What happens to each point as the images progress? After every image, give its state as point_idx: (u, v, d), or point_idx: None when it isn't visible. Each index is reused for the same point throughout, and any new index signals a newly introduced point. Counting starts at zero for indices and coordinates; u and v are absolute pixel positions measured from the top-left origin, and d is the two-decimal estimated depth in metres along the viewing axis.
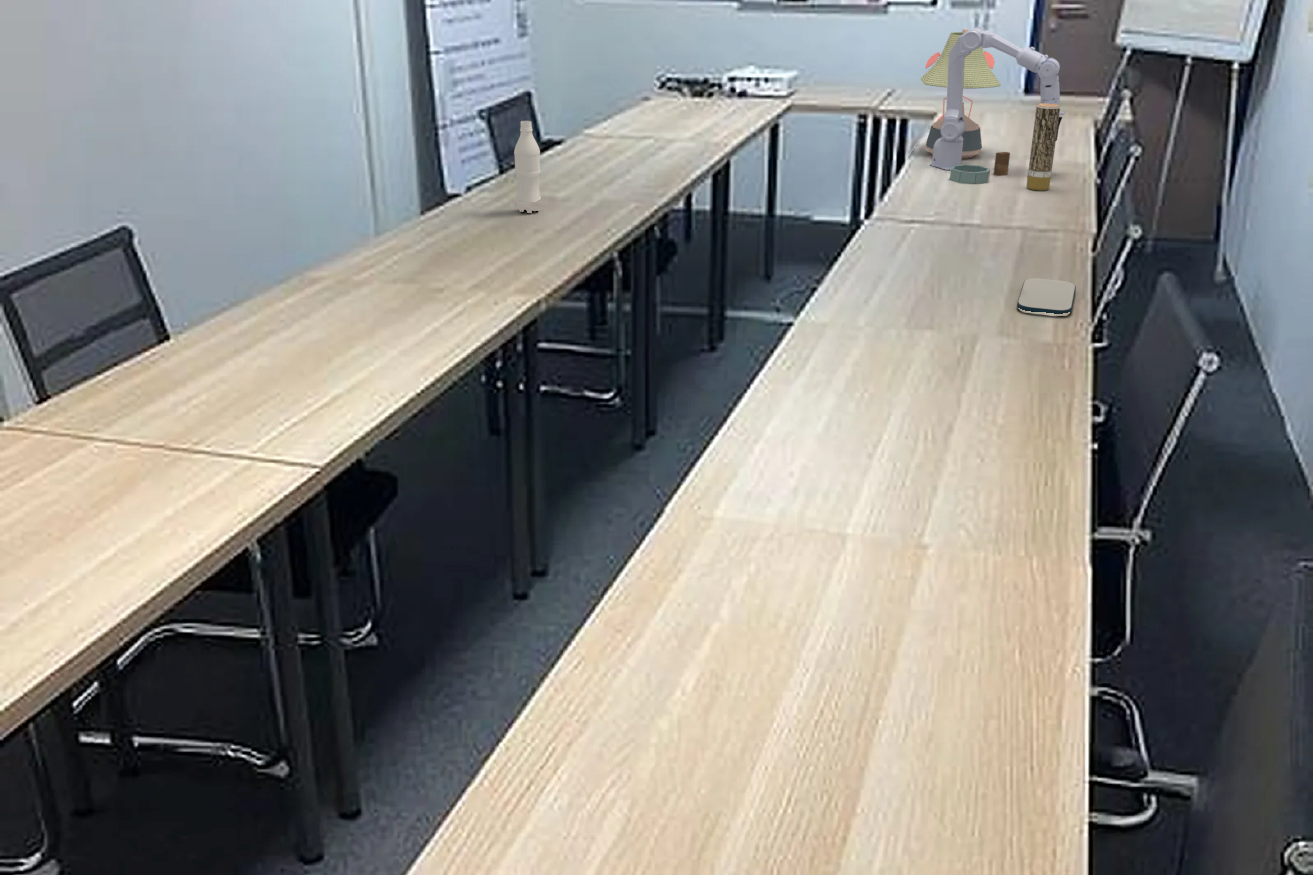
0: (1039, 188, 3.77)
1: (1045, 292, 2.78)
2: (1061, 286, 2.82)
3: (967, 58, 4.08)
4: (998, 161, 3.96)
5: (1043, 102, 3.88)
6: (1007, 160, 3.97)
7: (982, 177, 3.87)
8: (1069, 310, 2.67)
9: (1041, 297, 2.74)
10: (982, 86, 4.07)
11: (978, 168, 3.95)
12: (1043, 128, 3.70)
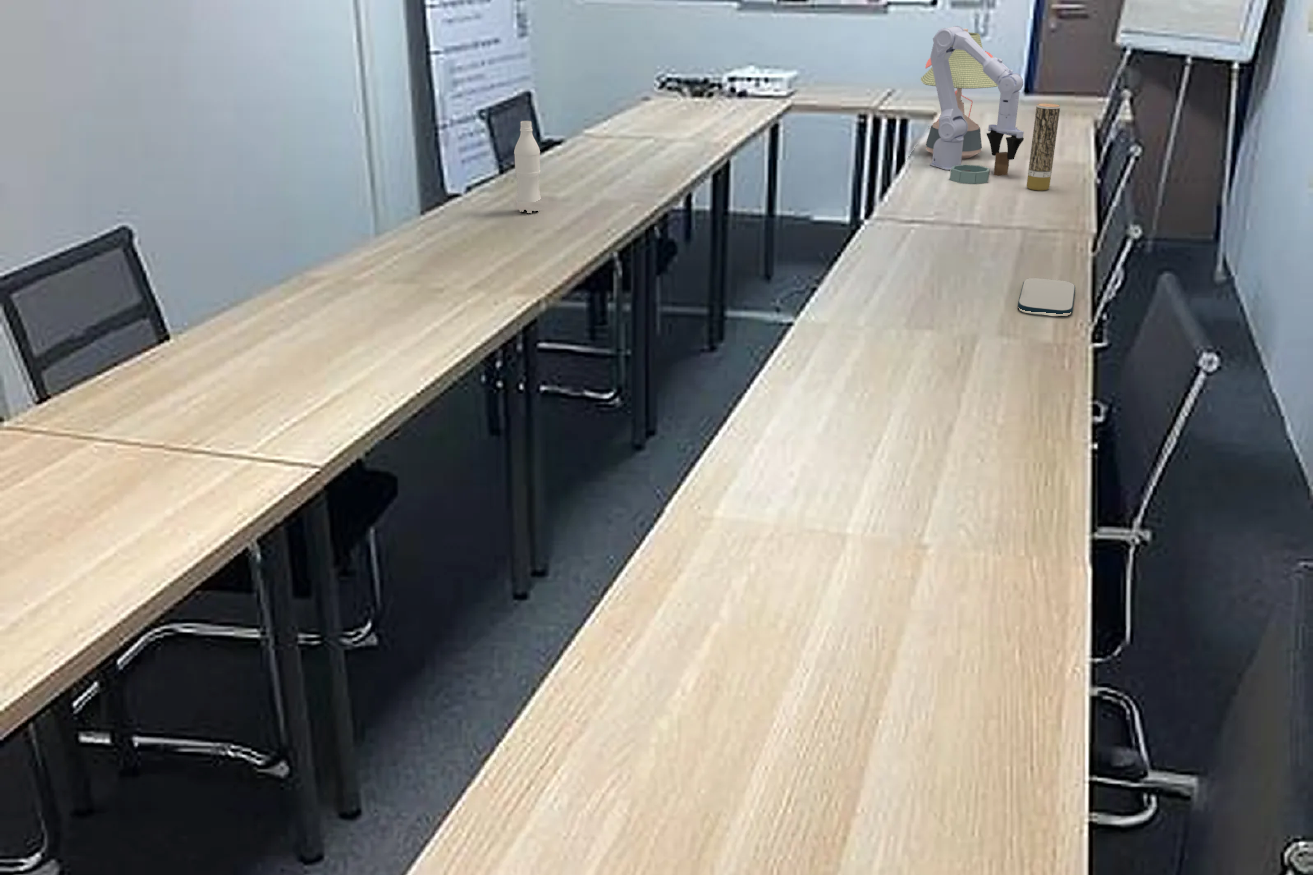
0: (1039, 188, 3.77)
1: (1045, 292, 2.78)
2: (1061, 286, 2.82)
3: (967, 58, 4.08)
4: (998, 161, 3.96)
5: (1007, 117, 3.89)
6: (1007, 160, 3.97)
7: (982, 177, 3.87)
8: (1070, 310, 2.67)
9: (1041, 297, 2.74)
10: (982, 86, 4.07)
11: (978, 168, 3.95)
12: (1043, 128, 3.70)
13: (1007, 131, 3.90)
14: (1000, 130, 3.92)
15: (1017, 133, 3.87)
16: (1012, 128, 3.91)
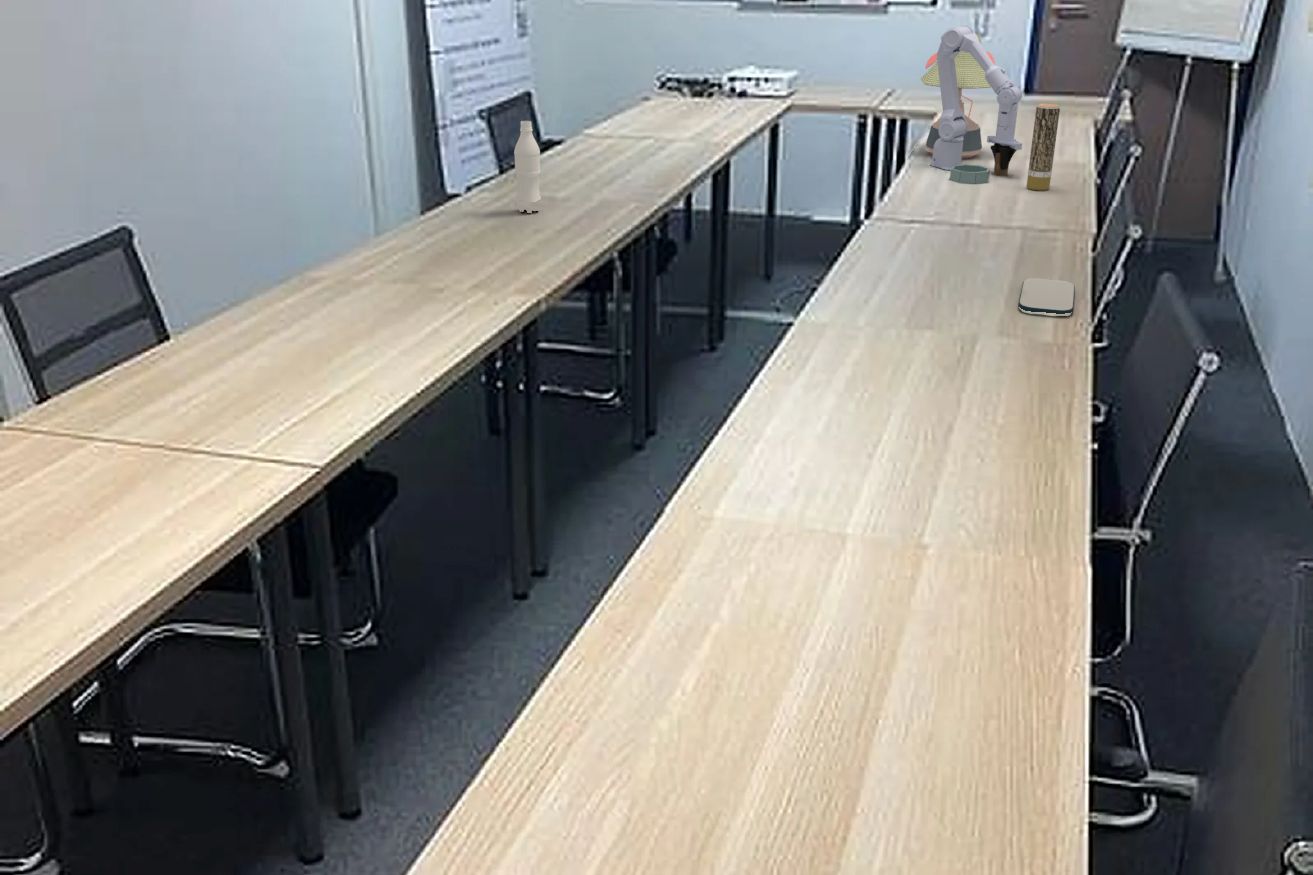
0: (1039, 188, 3.77)
1: (1045, 292, 2.78)
2: (1060, 286, 2.82)
3: (967, 58, 4.08)
4: (998, 161, 3.96)
5: (1006, 129, 3.91)
6: None
7: (982, 177, 3.87)
8: (1071, 310, 2.67)
9: (1042, 297, 2.74)
10: (982, 86, 4.07)
11: (978, 168, 3.95)
12: (1043, 128, 3.70)
13: (1006, 143, 3.91)
14: (999, 142, 3.93)
15: (1015, 145, 3.89)
16: (1011, 140, 3.92)
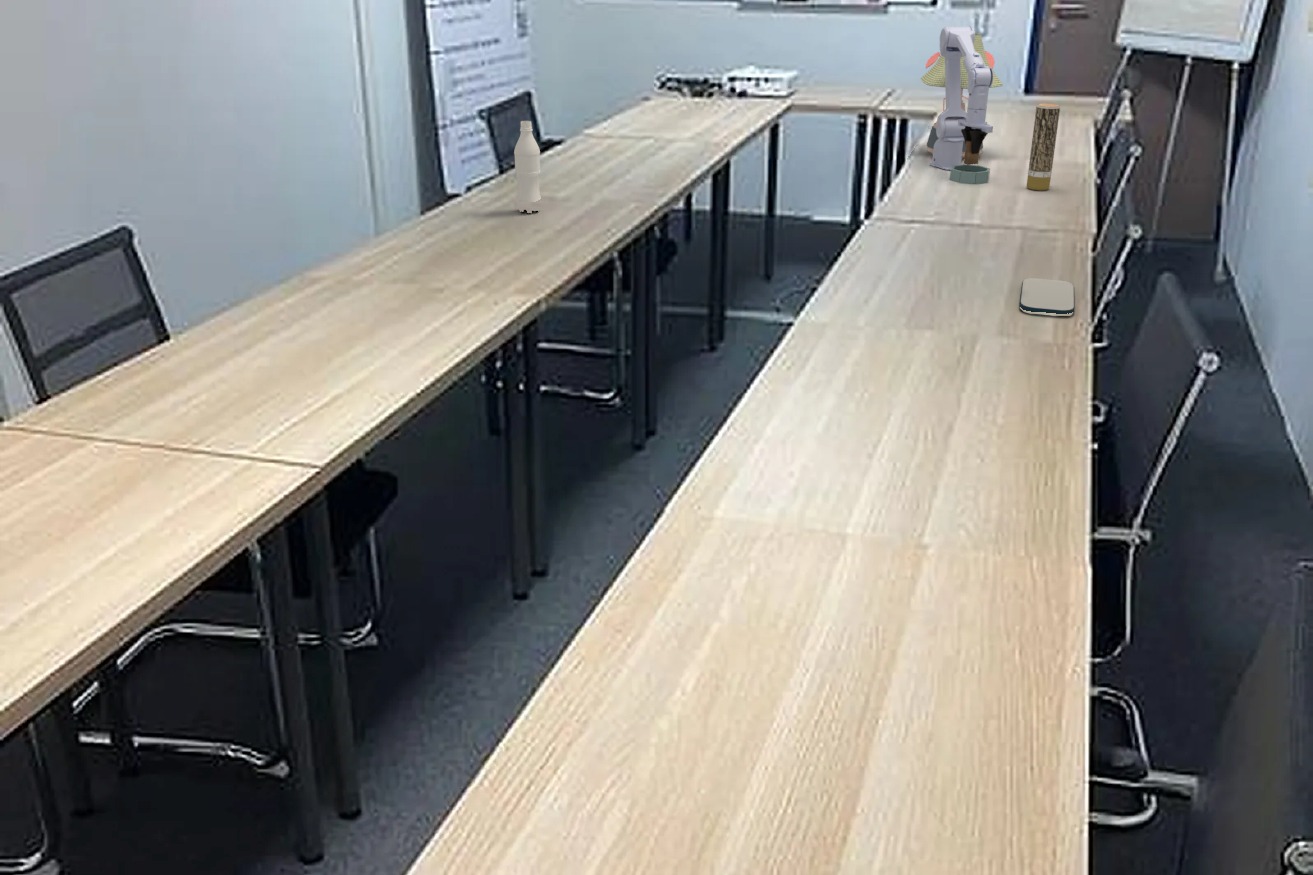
0: (1039, 188, 3.77)
1: (1045, 292, 2.78)
2: (1060, 286, 2.82)
3: None
4: (968, 150, 3.87)
5: (976, 111, 3.81)
6: None
7: (982, 177, 3.87)
8: (1072, 310, 2.67)
9: (1042, 297, 2.74)
10: None
11: (978, 168, 3.95)
12: (1043, 128, 3.70)
13: (976, 126, 3.82)
14: (969, 125, 3.83)
15: (986, 128, 3.79)
16: (981, 123, 3.83)
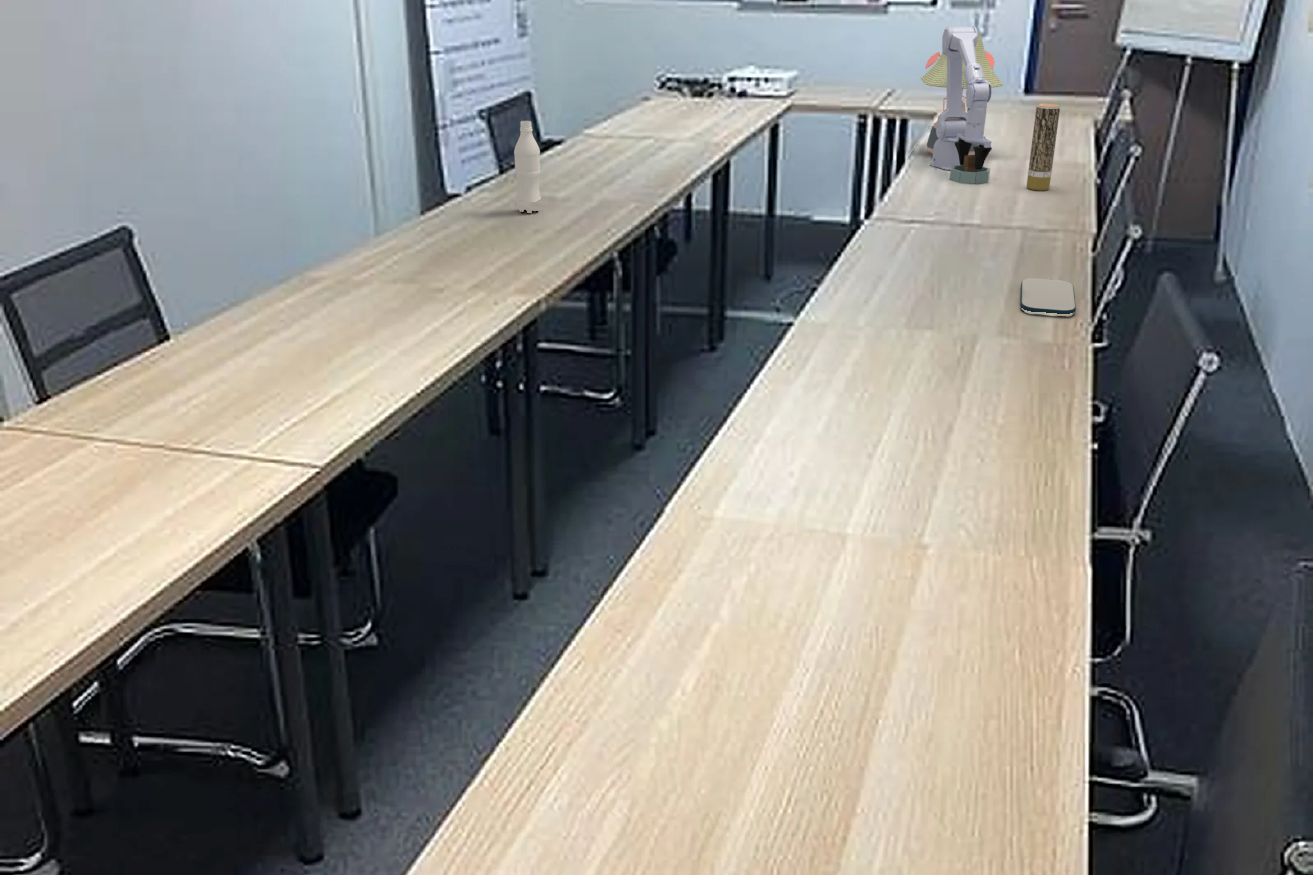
0: (1039, 188, 3.77)
1: (1045, 292, 2.78)
2: (1059, 286, 2.82)
3: None
4: (967, 164, 3.89)
5: (975, 126, 3.83)
6: None
7: (982, 177, 3.87)
8: (1073, 310, 2.67)
9: (1043, 297, 2.74)
10: None
11: None
12: (1043, 128, 3.70)
13: (975, 140, 3.83)
14: (968, 139, 3.85)
15: (985, 143, 3.81)
16: (980, 137, 3.84)
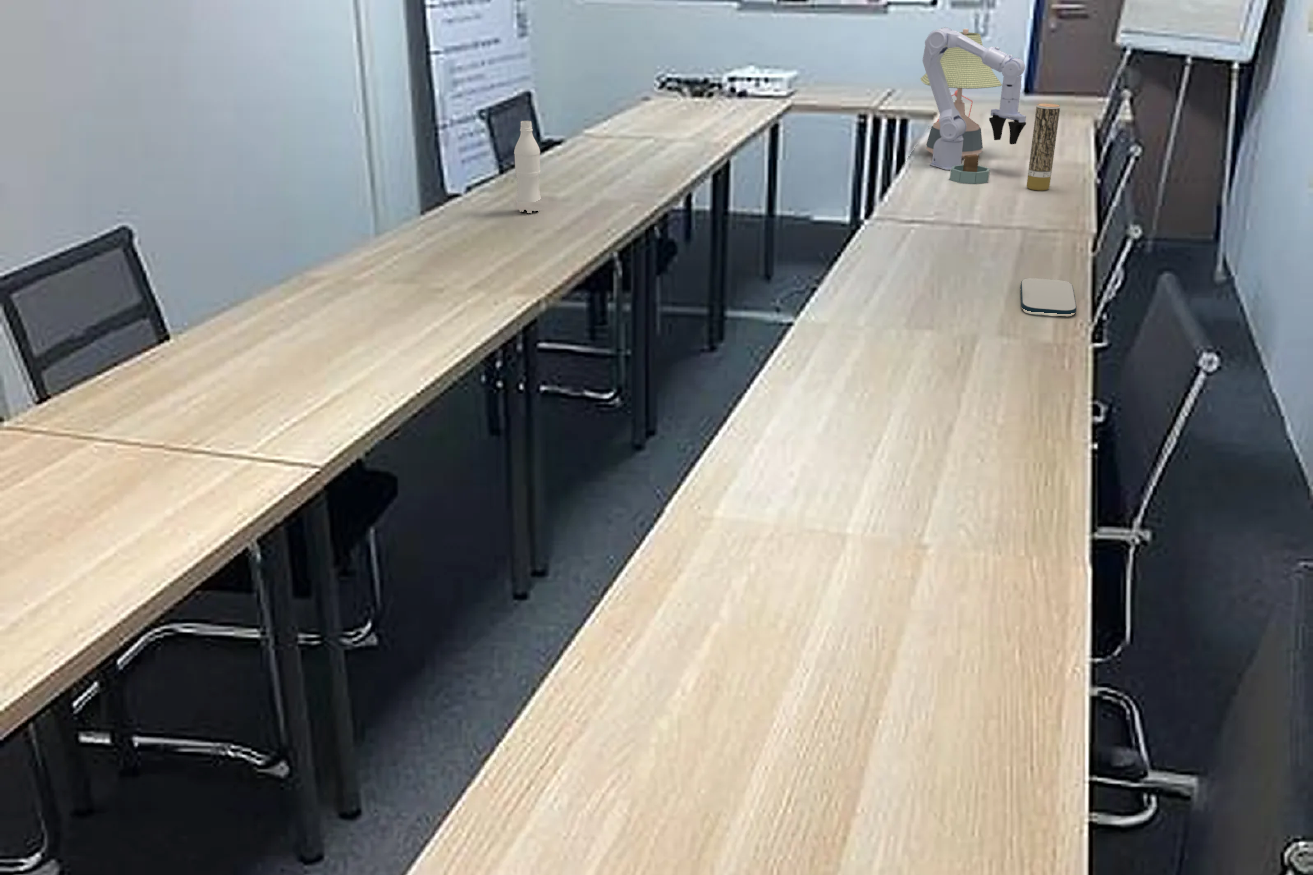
0: (1039, 188, 3.77)
1: (1045, 292, 2.78)
2: (1059, 286, 2.82)
3: (969, 58, 4.07)
4: (967, 164, 3.89)
5: (1010, 101, 3.90)
6: (975, 163, 3.89)
7: (982, 177, 3.87)
8: (1074, 310, 2.67)
9: (1043, 297, 2.74)
10: (984, 85, 4.07)
11: (978, 168, 3.95)
12: (1043, 128, 3.70)
13: (1009, 115, 3.91)
14: (1002, 114, 3.92)
15: (1019, 117, 3.88)
16: (1014, 112, 3.92)
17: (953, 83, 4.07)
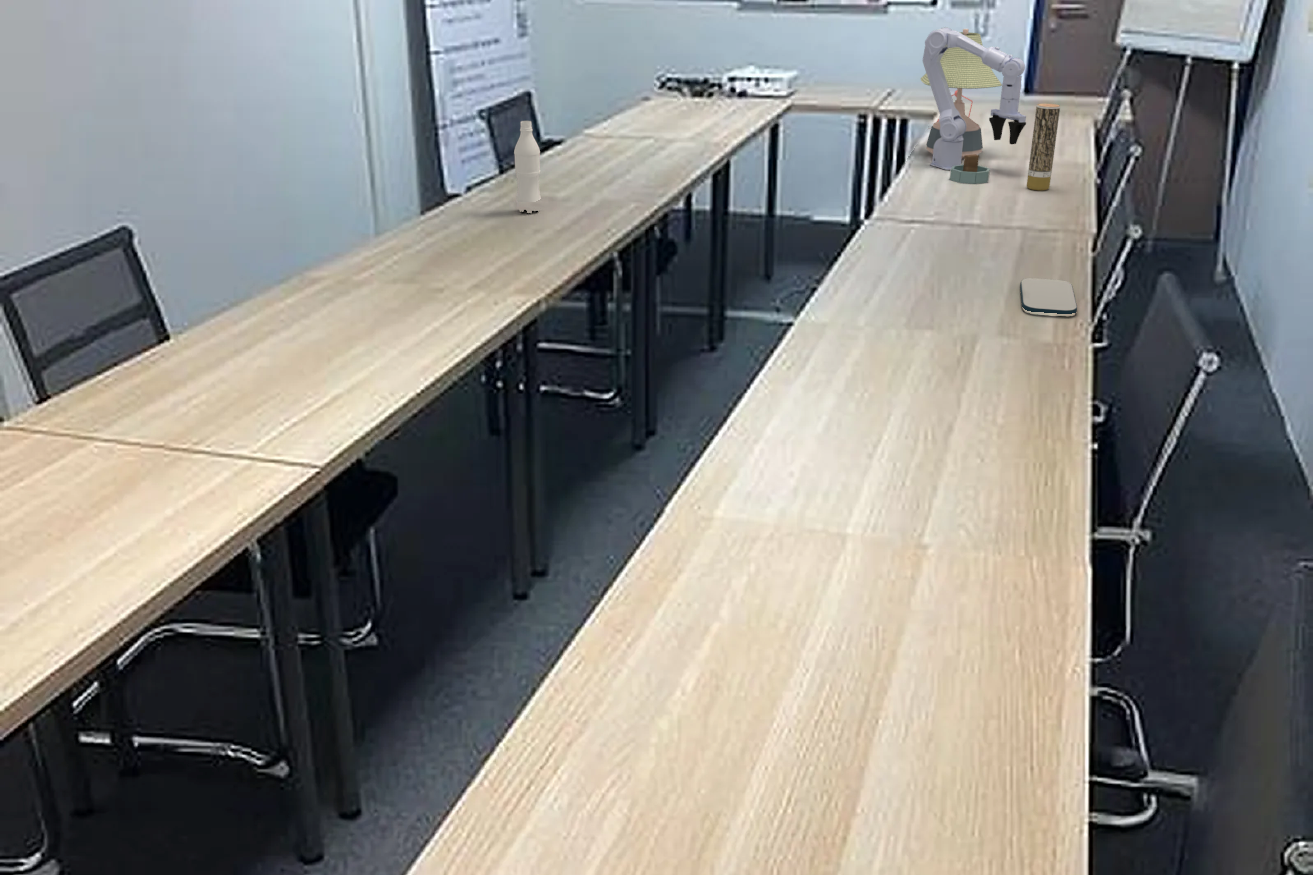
0: (1039, 188, 3.77)
1: (1045, 292, 2.78)
2: (1059, 285, 2.82)
3: (969, 58, 4.07)
4: (967, 164, 3.89)
5: (1010, 101, 3.90)
6: (975, 163, 3.89)
7: (982, 177, 3.87)
8: (1075, 310, 2.67)
9: (1044, 297, 2.74)
10: (984, 85, 4.07)
11: (978, 168, 3.95)
12: (1043, 128, 3.70)
13: (1009, 115, 3.91)
14: (1002, 114, 3.92)
15: (1019, 117, 3.88)
16: (1014, 112, 3.92)
17: (953, 83, 4.07)
